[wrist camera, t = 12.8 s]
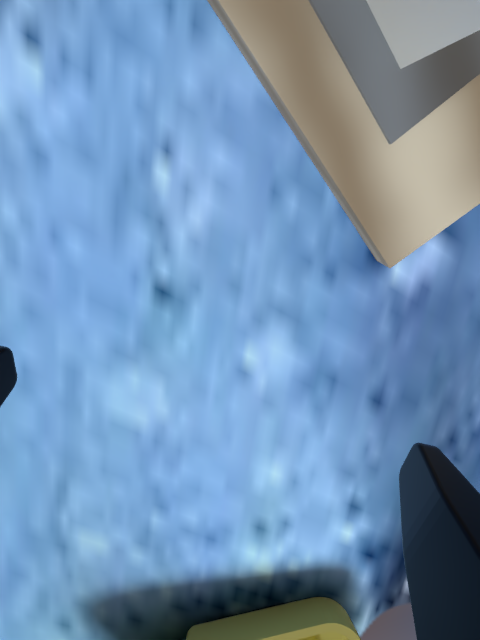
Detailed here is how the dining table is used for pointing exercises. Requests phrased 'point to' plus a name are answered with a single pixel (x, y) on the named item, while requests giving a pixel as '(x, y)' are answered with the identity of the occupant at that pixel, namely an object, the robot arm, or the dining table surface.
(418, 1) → the block
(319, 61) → the board
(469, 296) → the dining table surface
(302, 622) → the plastic component
